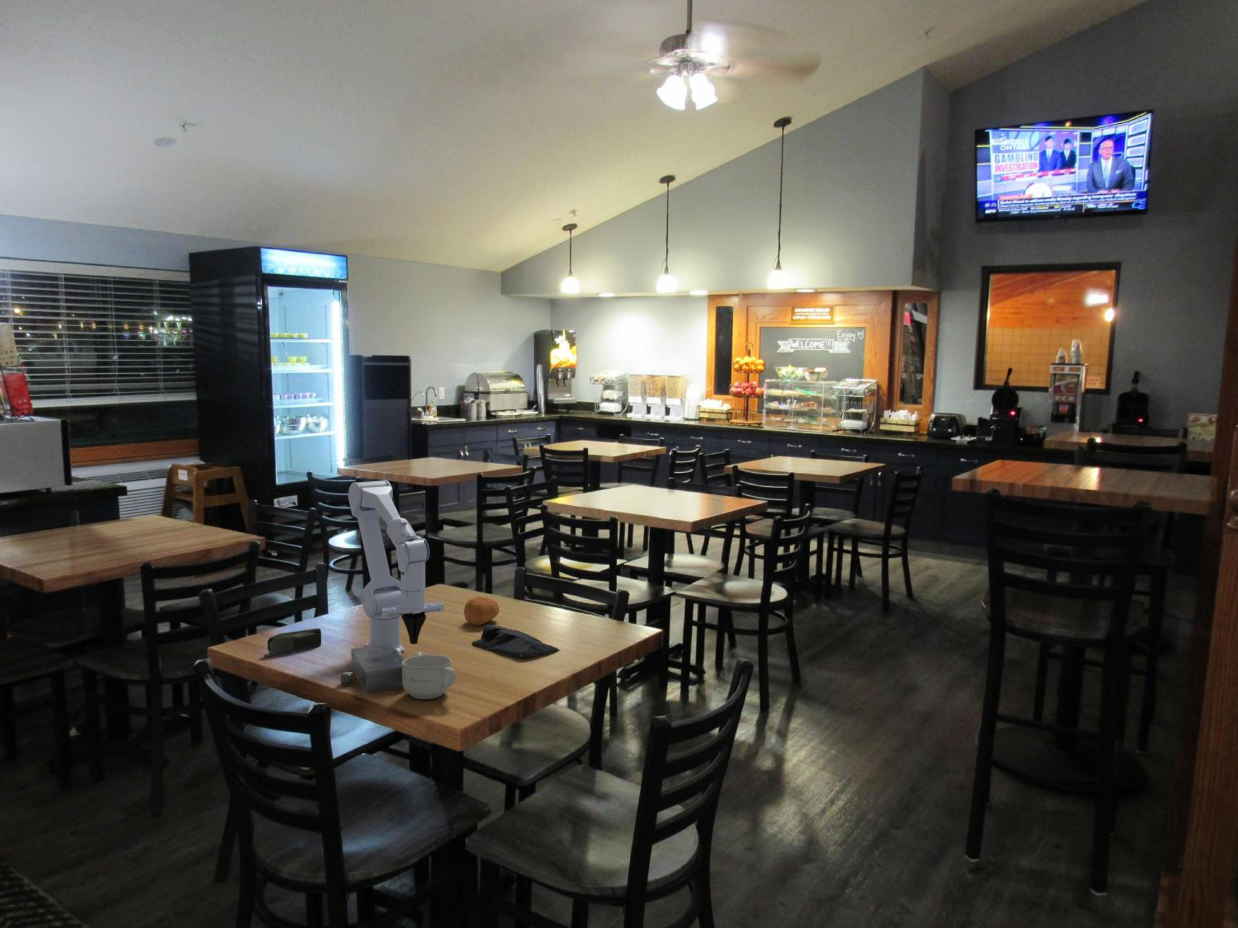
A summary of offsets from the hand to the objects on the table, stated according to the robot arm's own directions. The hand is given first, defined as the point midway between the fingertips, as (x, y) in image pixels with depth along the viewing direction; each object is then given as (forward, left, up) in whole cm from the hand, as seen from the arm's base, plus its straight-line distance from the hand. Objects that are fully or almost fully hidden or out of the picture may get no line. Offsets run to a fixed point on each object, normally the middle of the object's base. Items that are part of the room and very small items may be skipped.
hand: (413, 642), depth 208 cm
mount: (+6, -9, -5) cm, 12 cm away
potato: (-27, +26, -6) cm, 38 cm away
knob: (0, -7, -5) cm, 9 cm away
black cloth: (-2, +27, -6) cm, 28 cm away
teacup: (+23, -2, -6) cm, 23 cm away
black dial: (+7, -17, -6) cm, 19 cm away
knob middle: (+6, -4, -5) cm, 8 cm away
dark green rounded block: (-24, -25, -6) cm, 35 cm away
